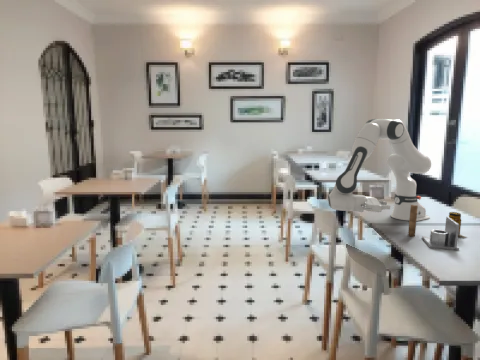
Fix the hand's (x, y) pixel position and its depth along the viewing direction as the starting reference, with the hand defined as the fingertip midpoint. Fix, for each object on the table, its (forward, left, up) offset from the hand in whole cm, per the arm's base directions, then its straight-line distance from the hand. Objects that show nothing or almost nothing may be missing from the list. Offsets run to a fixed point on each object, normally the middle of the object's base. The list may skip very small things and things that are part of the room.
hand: (388, 205), depth 183 cm
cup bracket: (-14, +20, -15) cm, 29 cm away
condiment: (-33, +12, -16) cm, 38 cm away
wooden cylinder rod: (-11, +6, -15) cm, 20 cm away
